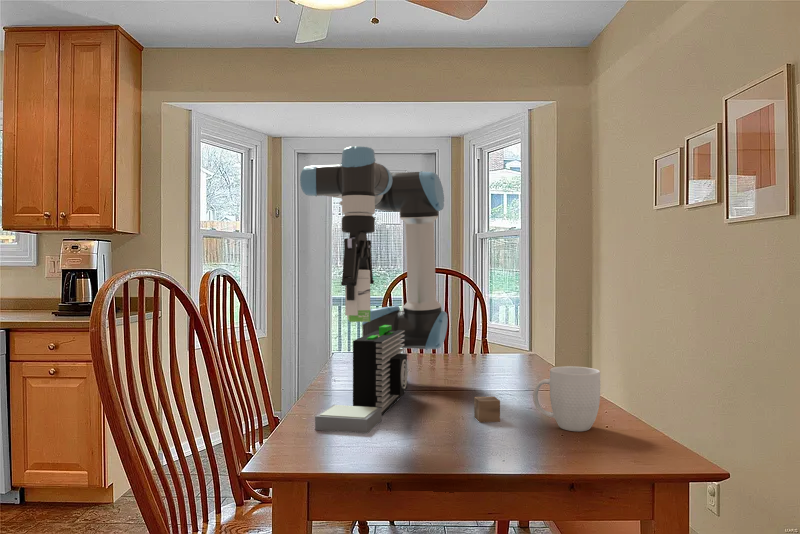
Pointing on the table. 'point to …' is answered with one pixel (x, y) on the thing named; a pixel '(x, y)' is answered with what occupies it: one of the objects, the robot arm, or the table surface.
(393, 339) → the electronic device
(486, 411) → the walnut block
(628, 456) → the table surface
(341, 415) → the stand
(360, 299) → the ink box
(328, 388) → the table surface
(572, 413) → the mug
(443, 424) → the table surface
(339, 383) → the table surface
